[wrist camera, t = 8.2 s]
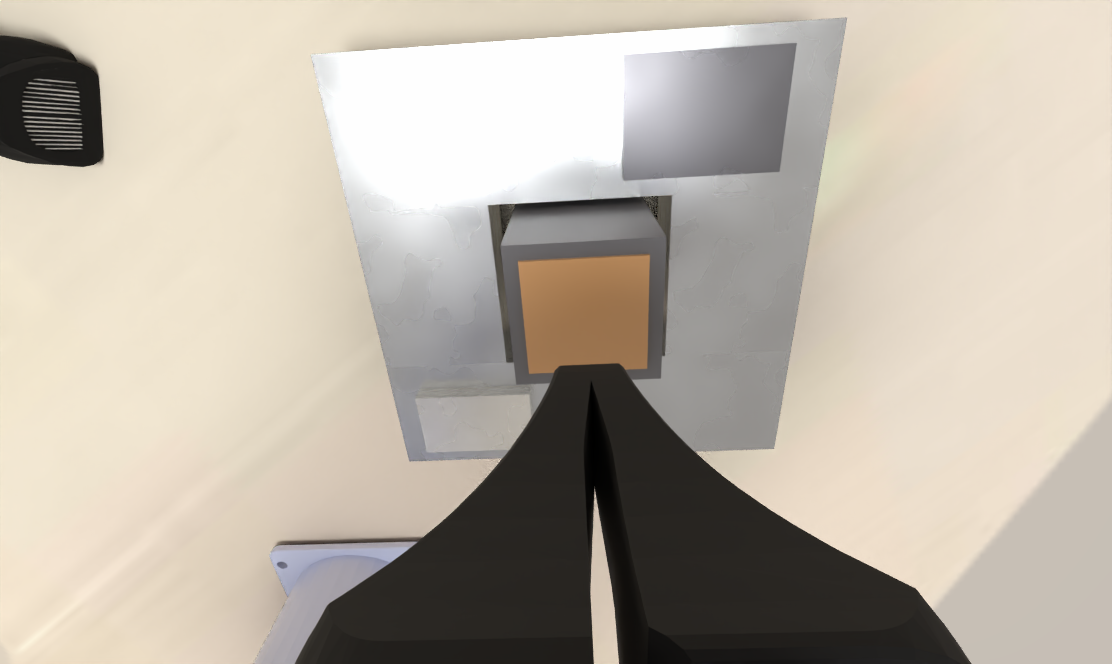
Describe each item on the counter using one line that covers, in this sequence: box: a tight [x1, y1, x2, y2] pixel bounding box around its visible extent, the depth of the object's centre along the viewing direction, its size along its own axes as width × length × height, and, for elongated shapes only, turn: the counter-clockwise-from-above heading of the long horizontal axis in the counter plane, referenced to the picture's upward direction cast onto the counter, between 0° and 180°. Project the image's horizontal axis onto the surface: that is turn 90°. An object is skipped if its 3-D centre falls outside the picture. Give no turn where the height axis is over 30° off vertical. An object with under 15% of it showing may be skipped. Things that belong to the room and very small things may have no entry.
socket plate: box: [311, 18, 847, 461], centre depth 17 cm, size 14×14×3 cm
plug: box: [500, 197, 666, 385], centre depth 16 cm, size 4×4×6 cm
